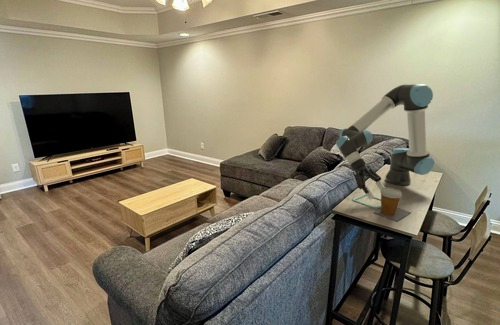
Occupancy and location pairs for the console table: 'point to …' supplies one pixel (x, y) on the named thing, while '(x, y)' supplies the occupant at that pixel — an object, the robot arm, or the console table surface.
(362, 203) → the teal frame
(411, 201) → the console table surface
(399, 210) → the charcoal mat
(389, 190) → the disposable coffee cup
